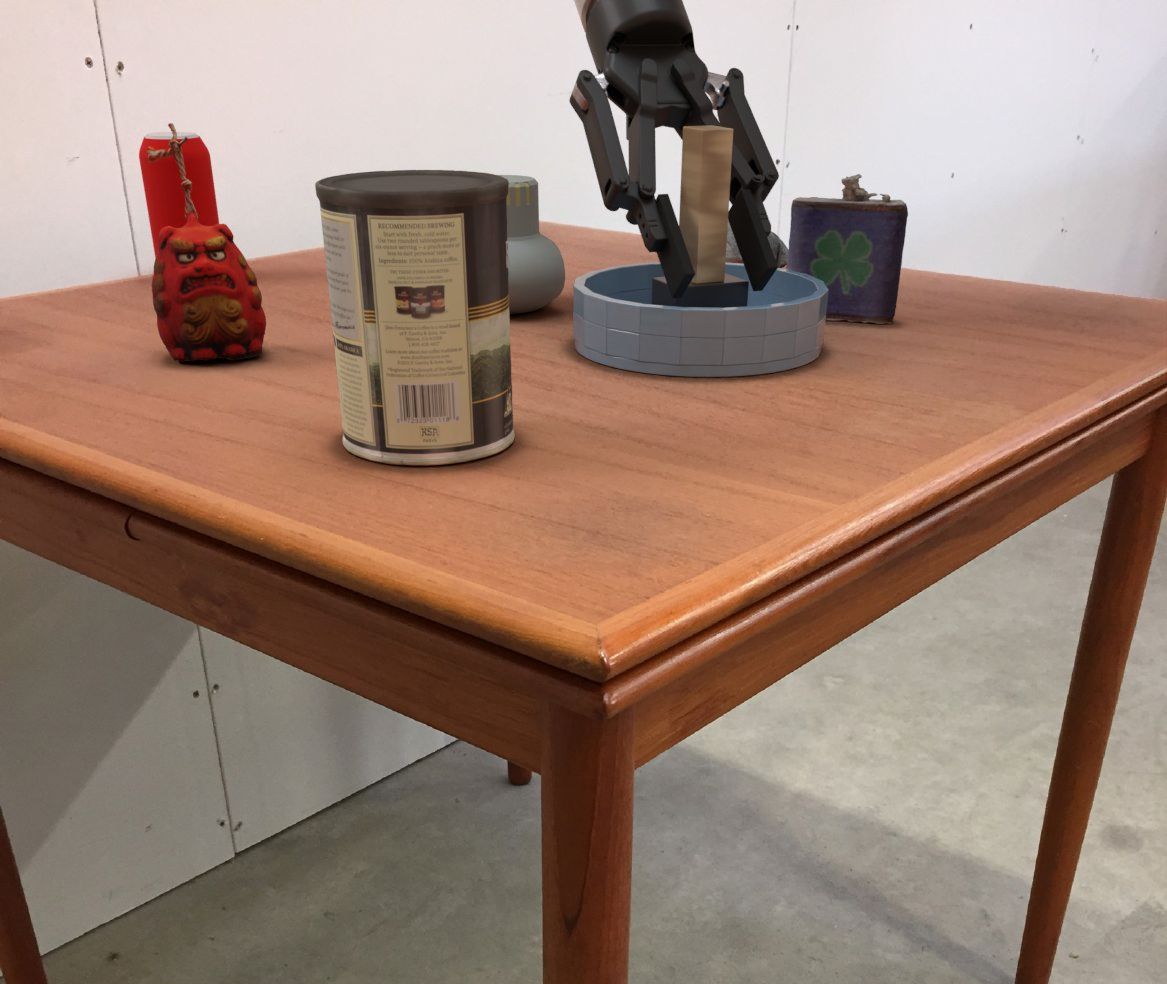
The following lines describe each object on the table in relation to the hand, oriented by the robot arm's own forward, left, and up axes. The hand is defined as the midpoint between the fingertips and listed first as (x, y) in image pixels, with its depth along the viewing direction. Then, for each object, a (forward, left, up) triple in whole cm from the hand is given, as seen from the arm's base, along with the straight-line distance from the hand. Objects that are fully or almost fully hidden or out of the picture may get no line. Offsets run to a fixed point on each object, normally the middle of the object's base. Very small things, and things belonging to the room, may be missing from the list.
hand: (725, 282), depth 90 cm
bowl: (+3, -2, -5) cm, 6 cm away
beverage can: (+55, -11, -5) cm, 56 cm away
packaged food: (+9, -29, -5) cm, 31 cm away
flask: (-5, -16, -5) cm, 18 cm away
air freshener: (+22, -9, -5) cm, 24 cm away
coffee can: (+11, +27, -5) cm, 29 cm away
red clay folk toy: (+35, +14, -5) cm, 37 cm away
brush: (+3, -3, -3) cm, 5 cm away
